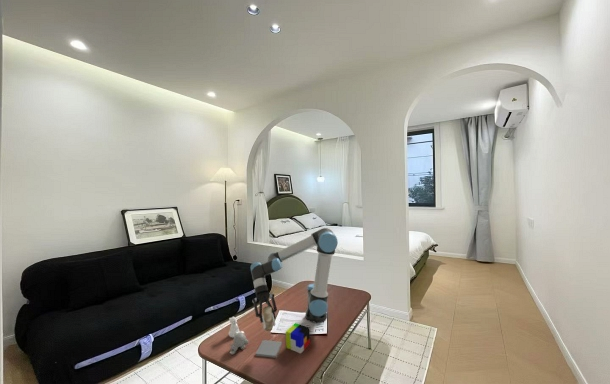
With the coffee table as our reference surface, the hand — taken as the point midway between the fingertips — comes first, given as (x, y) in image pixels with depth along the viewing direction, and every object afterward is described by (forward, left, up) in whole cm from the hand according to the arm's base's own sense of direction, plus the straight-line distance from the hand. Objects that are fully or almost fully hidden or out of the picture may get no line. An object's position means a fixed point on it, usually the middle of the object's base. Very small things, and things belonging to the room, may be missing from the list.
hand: (269, 326), depth 146 cm
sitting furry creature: (+28, -13, -16) cm, 35 cm away
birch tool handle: (+2, -3, -3) cm, 5 cm away
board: (+2, -3, -16) cm, 16 cm away
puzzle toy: (-14, -9, -16) cm, 23 cm away
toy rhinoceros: (+20, 0, -16) cm, 26 cm away
